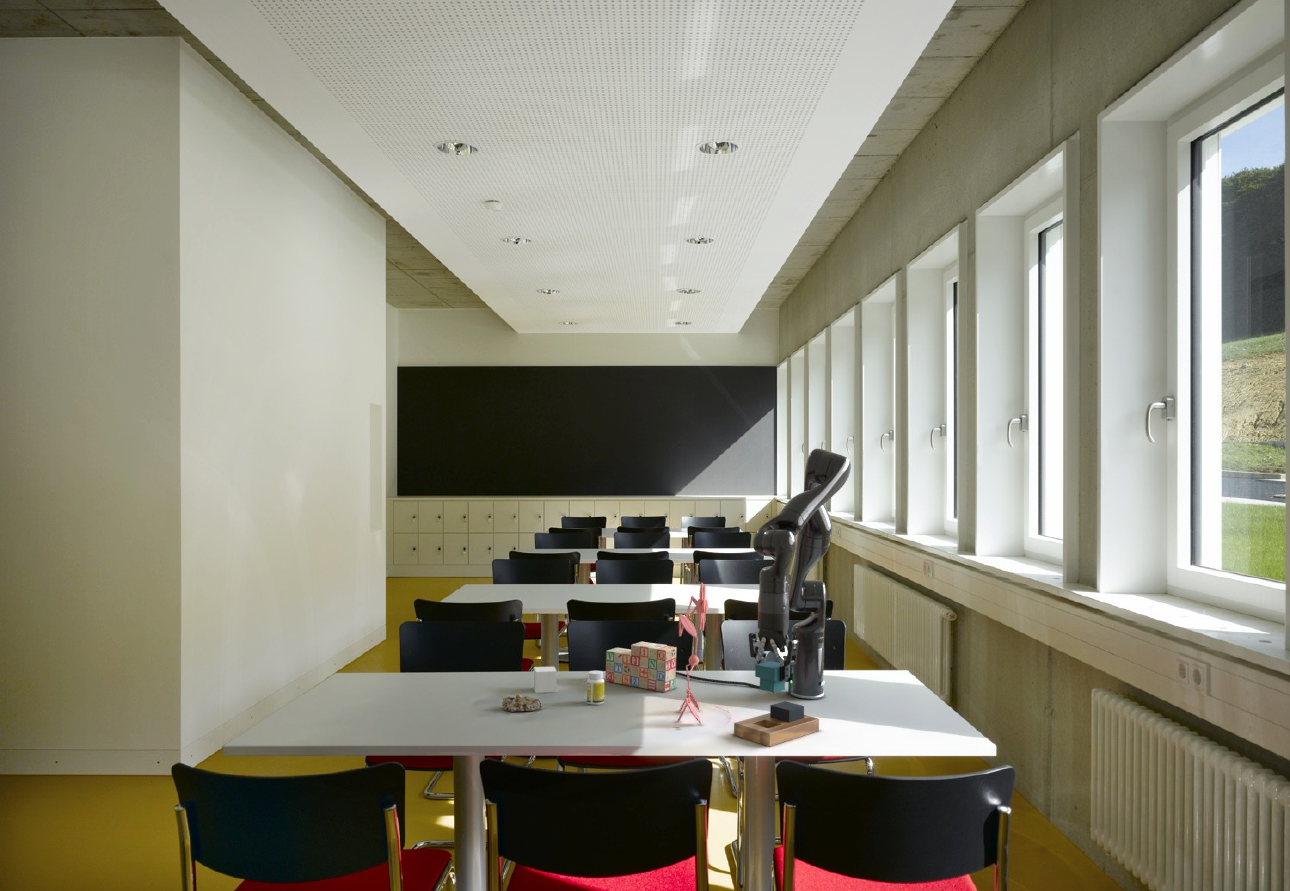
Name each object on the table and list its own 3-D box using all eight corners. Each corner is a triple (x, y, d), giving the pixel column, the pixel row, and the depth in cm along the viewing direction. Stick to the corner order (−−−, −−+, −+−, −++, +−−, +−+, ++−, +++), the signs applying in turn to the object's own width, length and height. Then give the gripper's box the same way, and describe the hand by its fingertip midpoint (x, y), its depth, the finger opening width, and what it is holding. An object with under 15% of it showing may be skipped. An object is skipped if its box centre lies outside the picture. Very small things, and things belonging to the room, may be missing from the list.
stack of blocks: (604, 681, 262) (605, 640, 262) (616, 677, 267) (617, 637, 267) (665, 692, 250) (666, 649, 250) (676, 688, 255) (676, 646, 256)
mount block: (733, 735, 211) (734, 722, 211) (783, 720, 225) (783, 708, 225) (769, 746, 203) (769, 733, 203) (819, 730, 216) (819, 718, 216)
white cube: (535, 693, 247) (535, 671, 247) (533, 687, 253) (534, 667, 253) (556, 692, 248) (556, 671, 248) (554, 686, 254) (554, 666, 254)
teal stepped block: (754, 689, 211) (755, 664, 212) (770, 685, 215) (770, 661, 216) (774, 693, 207) (774, 668, 207) (789, 689, 211) (790, 665, 211)
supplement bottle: (607, 701, 239) (607, 671, 239) (599, 706, 235) (599, 675, 235) (591, 699, 241) (592, 669, 241) (583, 703, 237) (584, 672, 237)
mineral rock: (498, 703, 226) (505, 687, 234) (498, 718, 228) (505, 702, 235) (538, 706, 226) (544, 690, 234) (538, 721, 227) (544, 705, 235)
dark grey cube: (769, 729, 217) (770, 705, 217) (784, 724, 221) (785, 701, 221) (789, 734, 212) (789, 710, 213) (803, 730, 216) (804, 706, 217)
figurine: (672, 731, 213) (674, 589, 214) (677, 703, 239) (679, 576, 240) (734, 734, 212) (737, 591, 213) (733, 705, 237) (735, 578, 238)
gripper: (806, 612, 209) (805, 682, 209) (760, 604, 220) (759, 671, 219) (787, 615, 204) (786, 687, 204) (741, 607, 215) (740, 675, 214)
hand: (772, 678), depth 211 cm, fingers closed on teal stepped block, 6 cm apart
